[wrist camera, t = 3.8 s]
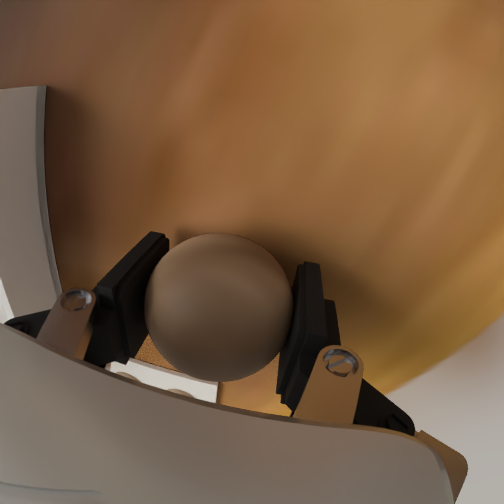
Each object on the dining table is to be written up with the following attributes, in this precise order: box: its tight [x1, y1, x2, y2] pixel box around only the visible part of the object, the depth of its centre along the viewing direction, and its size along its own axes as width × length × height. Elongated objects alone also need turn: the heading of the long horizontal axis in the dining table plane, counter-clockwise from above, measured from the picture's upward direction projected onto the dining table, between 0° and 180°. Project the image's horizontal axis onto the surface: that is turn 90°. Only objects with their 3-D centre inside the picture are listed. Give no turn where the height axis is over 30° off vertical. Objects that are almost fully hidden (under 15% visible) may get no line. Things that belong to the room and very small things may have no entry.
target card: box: [110, 358, 218, 403], centre depth 17 cm, size 8×5×1 cm, turn 81°
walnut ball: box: [144, 233, 294, 382], centre depth 10 cm, size 5×5×5 cm
